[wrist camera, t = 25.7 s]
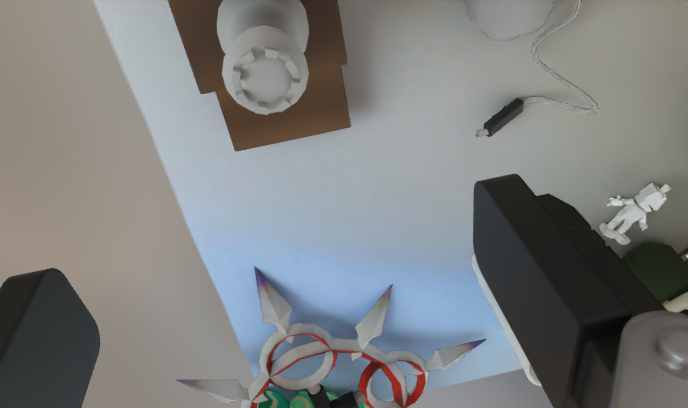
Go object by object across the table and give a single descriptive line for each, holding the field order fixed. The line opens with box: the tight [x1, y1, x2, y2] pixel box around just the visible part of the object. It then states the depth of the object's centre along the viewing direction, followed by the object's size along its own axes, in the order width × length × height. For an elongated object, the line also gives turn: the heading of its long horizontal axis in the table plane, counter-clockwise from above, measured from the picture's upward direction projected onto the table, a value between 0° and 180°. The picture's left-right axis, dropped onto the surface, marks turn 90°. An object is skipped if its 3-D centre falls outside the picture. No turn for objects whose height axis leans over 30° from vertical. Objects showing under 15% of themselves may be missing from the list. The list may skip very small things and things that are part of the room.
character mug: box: [621, 244, 688, 315], centre depth 44 cm, size 11×7×13 cm, turn 173°
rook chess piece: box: [217, 0, 309, 115], centre depth 21 cm, size 4×4×8 cm
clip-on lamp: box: [466, 0, 599, 137], centre depth 31 cm, size 12×6×18 cm
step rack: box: [168, 0, 351, 151], centre depth 25 cm, size 18×8×12 cm, turn 9°
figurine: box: [599, 183, 688, 258], centre depth 40 cm, size 5×12×7 cm
